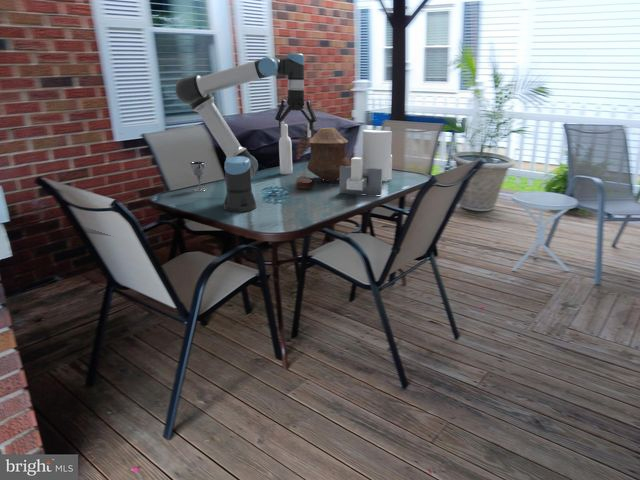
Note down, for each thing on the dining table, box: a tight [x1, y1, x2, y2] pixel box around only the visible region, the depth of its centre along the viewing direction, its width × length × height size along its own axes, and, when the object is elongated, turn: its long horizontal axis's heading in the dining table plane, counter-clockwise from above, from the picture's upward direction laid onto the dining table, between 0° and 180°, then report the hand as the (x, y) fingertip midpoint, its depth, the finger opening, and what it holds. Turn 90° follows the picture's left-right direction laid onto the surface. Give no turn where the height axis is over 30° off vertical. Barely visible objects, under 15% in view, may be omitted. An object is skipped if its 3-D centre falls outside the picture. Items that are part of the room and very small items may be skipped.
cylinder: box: [361, 129, 393, 181], centre depth 281 cm, size 17×17×28 cm
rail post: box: [350, 156, 363, 181], centre depth 240 cm, size 4×4×14 cm
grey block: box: [339, 166, 383, 196], centre depth 244 cm, size 12×22×14 cm, turn 70°
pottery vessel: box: [306, 127, 351, 181], centre depth 279 cm, size 26×26×30 cm
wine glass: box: [189, 160, 207, 193], centre depth 262 cm, size 8×8×15 cm
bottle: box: [278, 123, 294, 175], centre depth 299 cm, size 8×8×30 cm
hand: (295, 136), depth 229 cm, fingers open, 13 cm apart
